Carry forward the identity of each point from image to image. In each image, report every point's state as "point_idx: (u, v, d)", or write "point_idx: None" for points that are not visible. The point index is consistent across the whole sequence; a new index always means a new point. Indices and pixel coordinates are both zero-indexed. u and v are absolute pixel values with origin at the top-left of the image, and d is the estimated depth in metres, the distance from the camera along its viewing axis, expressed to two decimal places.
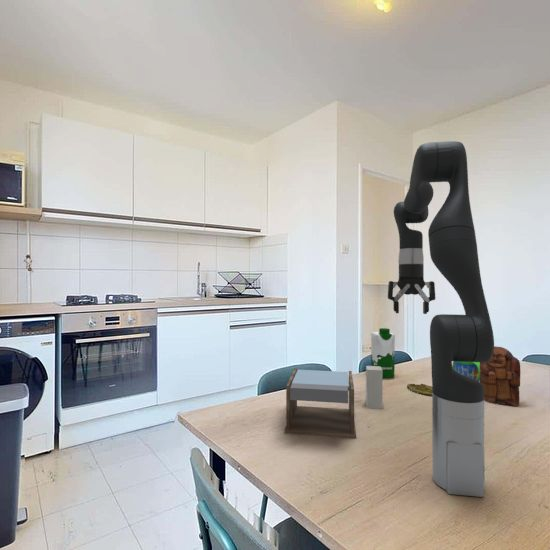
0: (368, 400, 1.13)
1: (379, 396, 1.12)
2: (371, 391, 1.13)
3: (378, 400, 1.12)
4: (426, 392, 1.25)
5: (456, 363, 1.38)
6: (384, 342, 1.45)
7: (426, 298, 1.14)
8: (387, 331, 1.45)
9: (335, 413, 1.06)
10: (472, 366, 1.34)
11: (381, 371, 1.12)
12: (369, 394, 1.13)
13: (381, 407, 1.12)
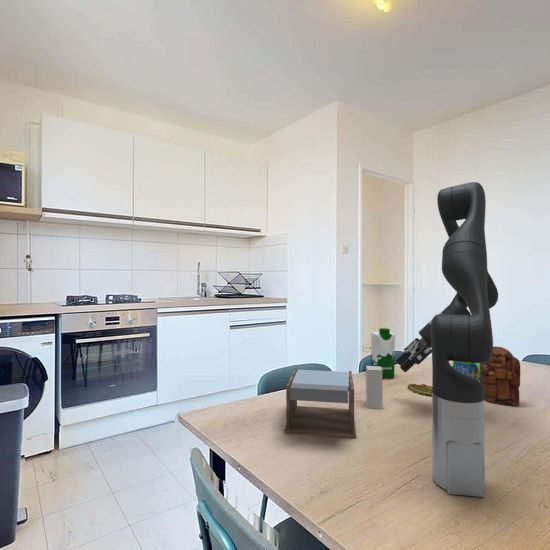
0: (368, 400, 1.13)
1: (379, 396, 1.12)
2: (371, 391, 1.13)
3: (378, 400, 1.12)
4: (426, 392, 1.25)
5: (456, 363, 1.38)
6: (385, 342, 1.45)
7: (411, 356, 1.09)
8: (387, 331, 1.45)
9: (335, 413, 1.06)
10: (472, 366, 1.34)
11: (381, 371, 1.12)
12: (369, 394, 1.13)
13: (381, 407, 1.12)
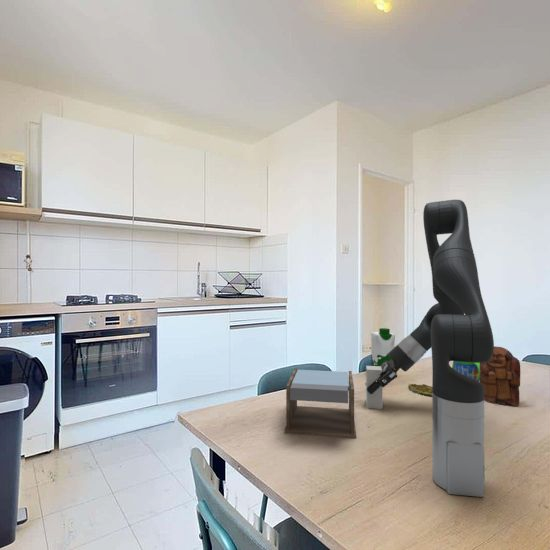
0: (368, 400, 1.13)
1: (379, 396, 1.12)
2: None
3: (378, 400, 1.12)
4: (426, 392, 1.25)
5: (456, 363, 1.38)
6: (384, 342, 1.45)
7: (377, 378, 1.12)
8: (387, 331, 1.45)
9: (335, 413, 1.06)
10: (472, 366, 1.34)
11: (381, 371, 1.12)
12: (369, 394, 1.13)
13: (381, 407, 1.12)
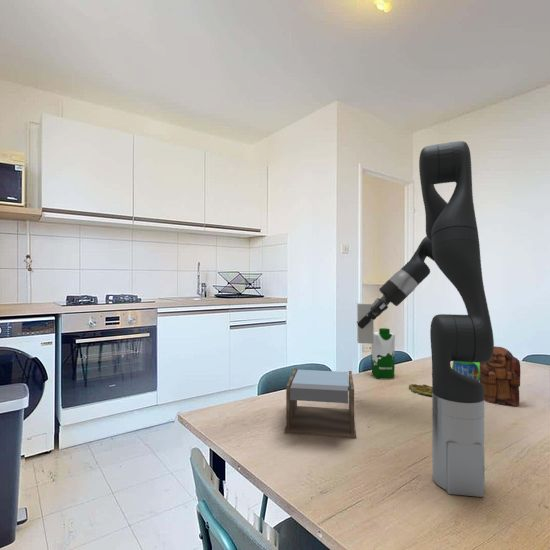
0: (359, 335, 1.11)
1: (370, 331, 1.10)
2: None
3: (369, 334, 1.10)
4: (427, 393, 1.25)
5: (456, 363, 1.38)
6: (384, 342, 1.45)
7: (368, 312, 1.10)
8: (387, 331, 1.45)
9: (335, 413, 1.06)
10: (472, 366, 1.34)
11: (372, 305, 1.10)
12: (360, 329, 1.11)
13: (372, 342, 1.10)
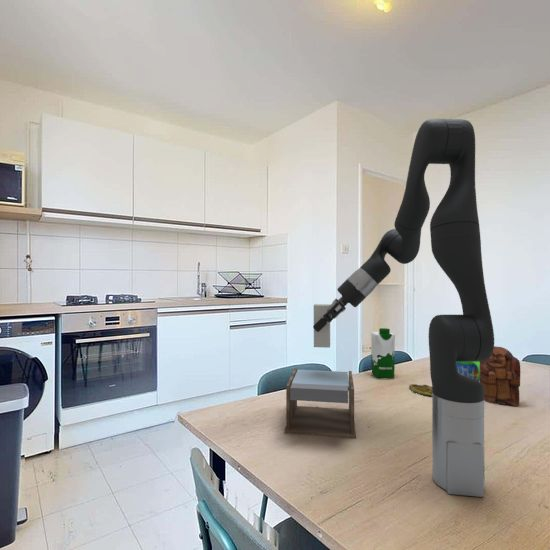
0: (315, 338, 1.03)
1: (326, 334, 1.03)
2: None
3: (326, 338, 1.03)
4: (427, 393, 1.25)
5: (456, 363, 1.38)
6: (384, 342, 1.45)
7: None
8: (387, 331, 1.45)
9: (335, 413, 1.06)
10: (472, 366, 1.34)
11: (328, 306, 1.03)
12: (316, 332, 1.03)
13: (328, 346, 1.03)
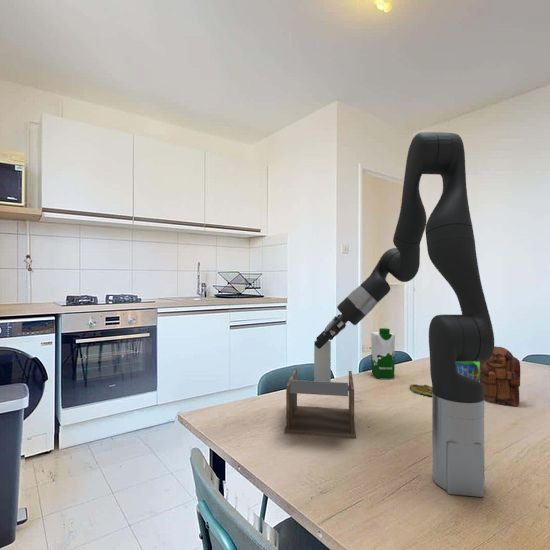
0: (315, 375, 1.03)
1: (327, 370, 1.03)
2: (318, 364, 1.04)
3: (326, 374, 1.03)
4: (427, 393, 1.24)
5: (456, 363, 1.38)
6: (384, 342, 1.45)
7: (325, 331, 1.01)
8: (387, 331, 1.45)
9: (335, 413, 1.06)
10: (472, 366, 1.34)
11: (329, 342, 1.04)
12: (316, 368, 1.04)
13: None
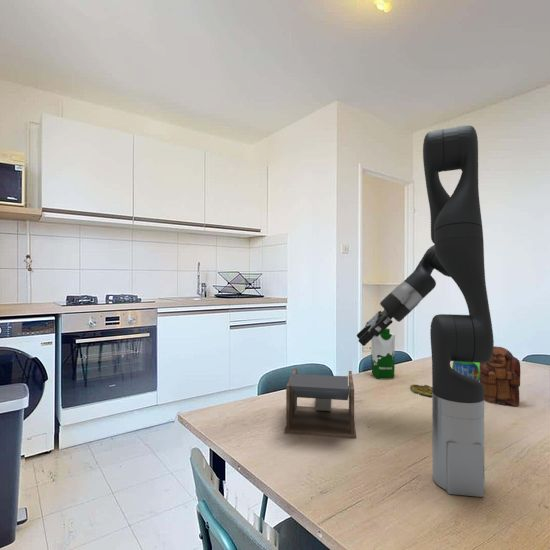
0: None
1: None
2: None
3: None
4: (427, 393, 1.24)
5: (456, 363, 1.38)
6: (384, 342, 1.45)
7: (370, 327, 0.99)
8: (387, 331, 1.45)
9: (335, 413, 1.06)
10: (472, 366, 1.34)
11: None
12: None
13: None
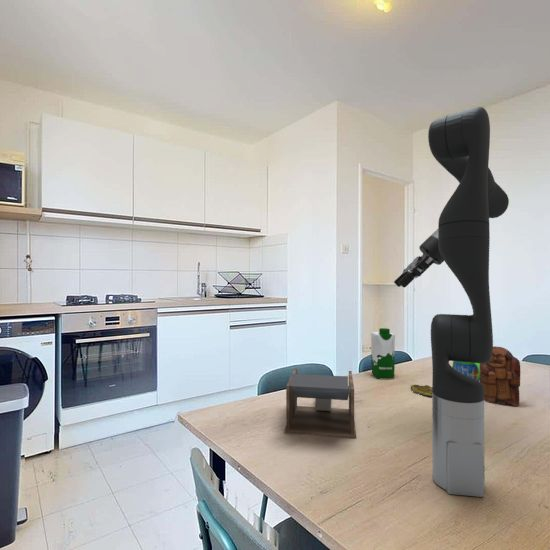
0: None
1: None
2: None
3: None
4: (427, 393, 1.24)
5: (456, 363, 1.38)
6: (384, 342, 1.45)
7: (411, 269, 0.98)
8: (387, 331, 1.45)
9: (335, 413, 1.06)
10: (472, 366, 1.34)
11: None
12: None
13: None
